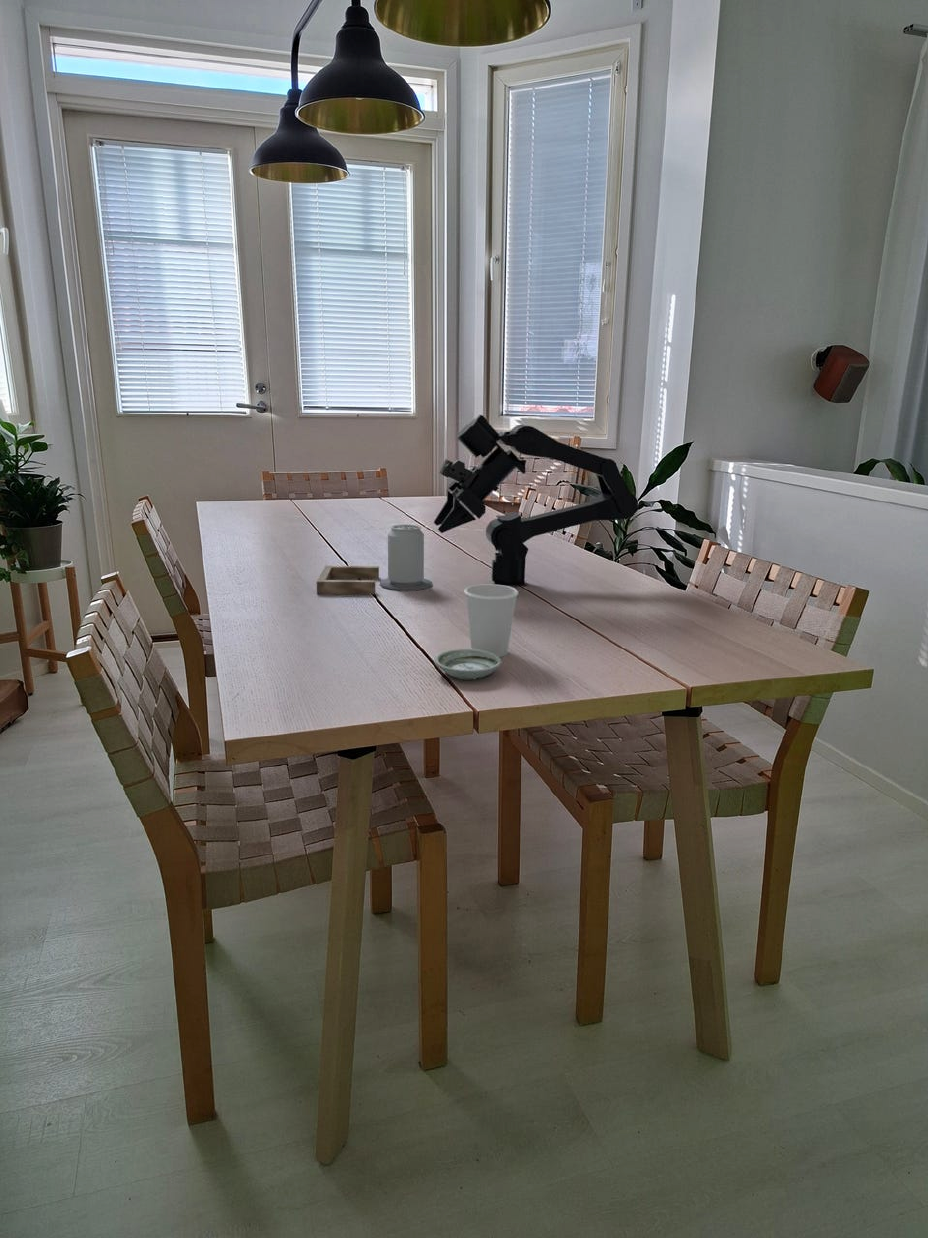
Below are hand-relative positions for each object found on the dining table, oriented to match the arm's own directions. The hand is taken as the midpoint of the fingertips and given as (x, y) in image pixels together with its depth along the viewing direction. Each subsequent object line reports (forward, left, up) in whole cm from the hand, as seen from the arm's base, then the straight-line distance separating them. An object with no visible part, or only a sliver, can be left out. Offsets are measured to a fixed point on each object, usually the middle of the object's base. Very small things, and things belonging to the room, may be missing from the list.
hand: (437, 527), depth 167 cm
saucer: (-3, +56, -12) cm, 57 cm away
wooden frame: (+18, +2, -12) cm, 21 cm away
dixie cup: (-7, +46, -12) cm, 48 cm away
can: (+7, +1, -12) cm, 13 cm away
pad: (+7, +1, -12) cm, 14 cm away
